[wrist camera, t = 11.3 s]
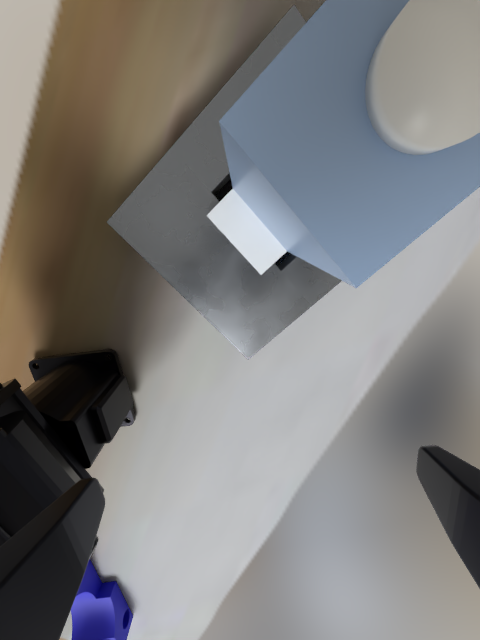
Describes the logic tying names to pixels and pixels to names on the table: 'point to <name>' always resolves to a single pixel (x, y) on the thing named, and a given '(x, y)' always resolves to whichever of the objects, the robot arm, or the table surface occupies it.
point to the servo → (355, 136)
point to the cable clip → (99, 610)
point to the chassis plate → (202, 234)
